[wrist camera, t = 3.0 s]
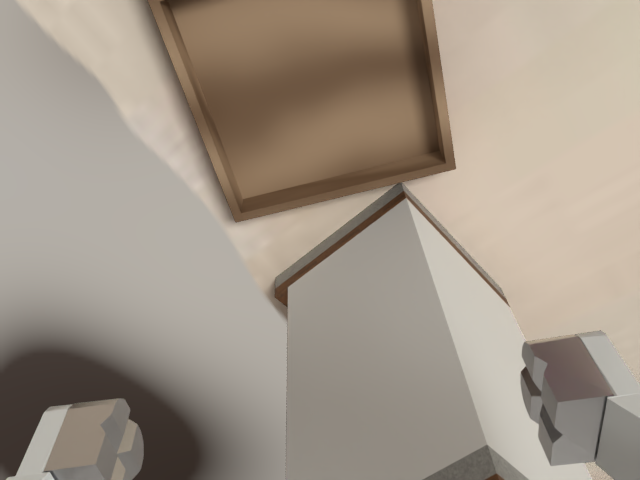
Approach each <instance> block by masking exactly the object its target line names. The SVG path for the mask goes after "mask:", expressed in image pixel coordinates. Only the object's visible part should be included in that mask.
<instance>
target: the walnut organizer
mask: <svg viewBox="0 0 640 480" xmlns="http://www.w3.org/2000/svg"><path fill="white" fill-rule="evenodd" d="M148 2H149V5H150V8H151V10H152V13H153V15H154V18H155V20H156V23H157V25H158V28H159V30H160V33H161V35H162V38H163V40H164V43H165V45H166V48H167V50H168V53H169V56H170V58H171V61H172V63H173V66H174V68H175V71H176V73H177V76H178V78H179V81H180V83H181V86H182V88H183V91H184V93H185V96H186V98H187V101H188V104H189V106H190V109H191V111H192V114H193V116H194V119H195V121H196V124H197V126H198V129H199V131H200V134H201V136H202V139H203V141H204V144H205V146H206V149H207V152H208V154H209V157H210V159H211V162H212V164H213V167H214V169H215V172H216V174H217V177H218V179H219V182H220V184H221V187H222V189H223V192H224V194H225V197H226V200H227V202H228V205H229V207H230V210H231V212H232V215H233V217H234V220H235V222H240V221H244V220H248V219H252V218H256V217H260V216H265V215H269V214H273V213H277V212H281V211H285V210H289V209H293V208H298V207H302V206H306V205H310V204H314V203H318V202H322V201H326V200H330V199H335V198H339V197H343V196H347V195H351V194H355V193H359V192H363V191H368V190H372V189H376V188H380V187H384V186H388V185H392V184H396V183H401V182H405V181H409V180H413V179H417V178H421V177H425V176H429V175H433V174H438V173H442V172H446V171H450V170H454V169H456V165H455V158H454V151H453V144H452V137H451V130H450V123H449V116H448V109H447V102H446V95H445V88H444V81H443V74H442V67H441V60H440V53H439V46H438V39H437V32H436V25H435V18H434V11H433V4H432V0H148Z"/></svg>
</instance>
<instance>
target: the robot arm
mask: <svg viewBox="0 0 640 480" xmlns="http://www.w3.org/2000/svg"><path fill="white" fill-rule="evenodd" d="M522 358H523V360H524V363H525V365H526V366H525V368H524V369H523V370H522V371H521V380H520V384H521V391H522V397H523V401H524V404H525V407H526V410H527V412H528V415H529V417H530V419H532V420H533V421H535V422H536V423H537V424H539V430H538V438H539V441H540V443H541V445H542V448H543V450H544V452H545V454H546V457H547V459H548V461H549V464H550V466H557V465H567V464H577V463H586V462H596V465H598V466H599V467H600V468H601V469H602V470H604V471H605V472H606V473H607V474H608V475H610V476H611V477H612V478H613V479H614V480H640V384H639V382H638V381H637V379H636V378H635V376H634V375H633V373H632V372H631V370H630V369H629V367H628V366H627V364H626V363H625V362H624V360H623V359H622V357H621V356H620V354H619V353H618V351H617V350H616V348H615V347H614V345H613V344H612V342H611V341H610V339H609V338H608V336H607V335H606V333H604V332H603V331H601V330H600V331H593V332H587V333H580V334H575V335H566V336H559V337H553V338H546V339H539V340H532V341H526V342H524V344H523V346H522ZM129 413H130V408H129V406H128V404H127V403H126V401H125V399H119V398H118V399H110V400H101V401H92V402H84V403H75V404H69V405H60V406H52V407H49V408H48V409H47V410H46V411H45V412H44V413H43V415H42V418H41V420H40V422H39V425H38V427H37V429H36V431H35V433H34V436H33V438H32V440H31V443H30V445H29V447H28V449H27V452H26V454H25V456H24V458H23V461H22V463H21V465H20V467H19V469H18V472H17V474H16V476H14V477H8V478H7V479H6V480H132V479H133V478H134V477H135V476H136V475H137V474H138V473H139V471H140V470H141V467H142V462H143V458H144V455H143V454H144V442H143V438H142V433H141V431H140V428H139V426H138V424H136V423H135V422H133V421H131V420H130V419H128V417H129Z"/></svg>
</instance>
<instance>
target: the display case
mask: <svg viewBox="0 0 640 480" xmlns="http://www.w3.org/2000/svg"><path fill="white" fill-rule="evenodd" d="M275 298H277V299H278V300H279V301H280V302H281V303H283V304H284V305H285V306H286V307H288V327H287V412H286V414H287V415H286V480H592V478H591V475H590V473H589V471H588V469H587V467H586V465H585V463H577V464H567V465H557V466H550V464H549V461H548V459H547V457H546V454H545V452H544V450H543V448H542V445H541V443H540V441H539V438H538V430H539V424H537V423H536V422H535V421H533V420H532V419H530V417H529V415H528V412H527V410H526V407H525V404H524V401H523V397H522V391H521V384H520V380H521V371H522V370H523V369H524V368H525V366H526V365H525V363H524V360H523V358H522V346H523V344H524V342H526V340H525V338H524V335H523V333H522V331H521V329H520V327H519V325H518V323H517V321H516V319H515V317H514V315H513V313H512V310H511V308H510V306H509V304H508V302H507V300H506V298H505V296H504V294H503V292H502V290H501V288H500V287H499V286H498V285H497V284H496V283H495V282H494V281H493V280H492V278H491V277H490V276H489V275H488V274H487V273H486V272H485V271H484V270H483V269H482V268H481V267H480V266H479V265H478V264H477V262H476V261H475V260H474V259H473V258H472V257H471V256H470V255H469V254H468V253H467V252H466V251H465V250H464V249H463V248H462V246H461V245H460V244H459V243H458V242H457V241H456V240H455V239H454V238H453V237H452V236H451V235H450V234H449V233H448V231H447V230H446V229H445V228H444V227H443V226H442V225H441V224H440V223H439V222H438V221H437V220H436V219H435V218H434V217H433V215H432V214H431V213H430V212H429V211H428V210H427V209H426V208H425V207H424V206H423V205H422V204H421V203H420V202H419V200H418V199H417V198H416V197H415V196H414V195H413V194H412V193H411V192H410V191H409V190H408V189H407V188H406V187H405V186H404V184H403V183H402V182H401V183H398V184H397V185H396V186H394V187H393V188H392V189H390V190H389V191H388V192H387V193H385V194H384V195H383V196H381V197H380V198H379V199H378V200H376V201H375V202H374V203H372V204H371V205H370V206H368V207H367V208H366V209H365V210H363V211H362V212H361V213H359V214H358V215H357V216H355V217H354V218H353V219H352V220H350V221H349V222H348V223H346V224H345V225H344V226H342V227H341V228H340V229H339V230H337V231H336V232H335V233H333V234H332V235H331V236H329V237H328V238H327V239H326V240H324V241H323V242H322V243H320V244H319V245H318V246H317V247H315V248H314V249H313V250H311V251H310V252H309V253H307V254H306V255H305V256H304V257H302V258H301V259H300V260H298V261H297V262H296V263H294V264H293V265H292V266H291V267H289V268H288V269H287V270H285V271H284V272H283V273H281V274H280V275H279V276H278V277H276V282H275Z"/></svg>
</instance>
